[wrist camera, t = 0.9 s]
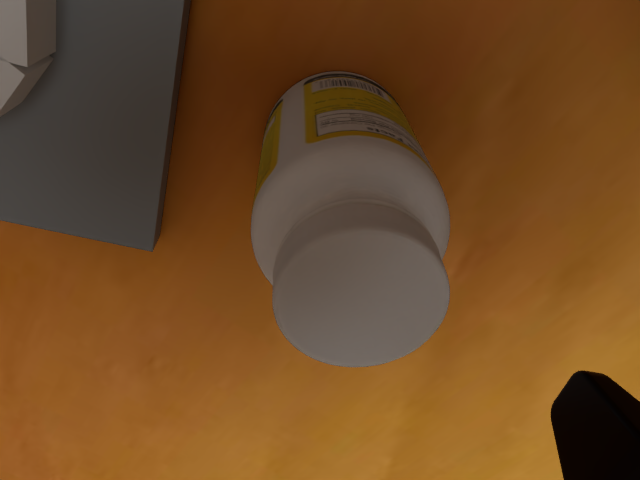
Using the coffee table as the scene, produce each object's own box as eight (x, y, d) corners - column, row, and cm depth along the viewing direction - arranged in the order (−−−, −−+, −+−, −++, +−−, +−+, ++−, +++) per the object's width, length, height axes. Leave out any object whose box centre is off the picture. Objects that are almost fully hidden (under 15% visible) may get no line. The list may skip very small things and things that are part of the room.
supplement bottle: (315, 224, 22) (321, 417, 13) (236, 120, 19) (183, 278, 11) (431, 158, 20) (519, 330, 12) (362, 36, 18) (411, 145, 9)
